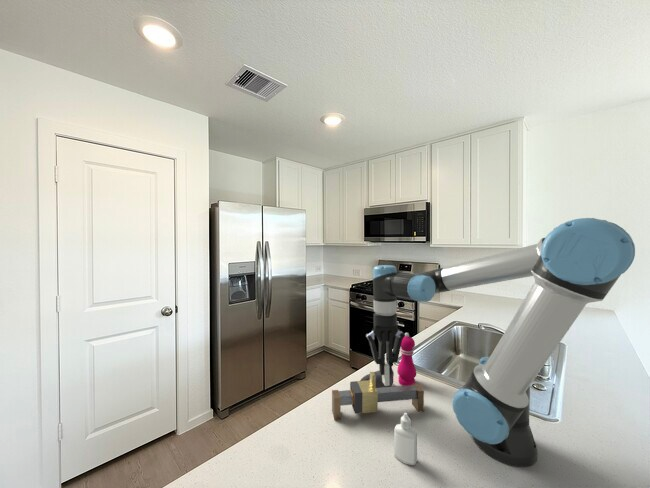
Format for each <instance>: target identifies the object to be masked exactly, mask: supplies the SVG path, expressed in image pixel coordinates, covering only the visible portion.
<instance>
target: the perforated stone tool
mask: <svg viewBox="0 0 650 488" xmlns="http://www.w3.org/2000/svg"><path fill="white" fill-rule="evenodd" d="M373 372H374V374H375V375H376V388H382V387H393V384H394V376H395V375H394V374H395V373H394V370H393V369H392V374H389V379H390V386H385V385H384V383H383V382H382V375H381V373H380V372H379V370H376V371H373ZM366 380H370V373H368V374H366V375H364V376H363V377H361V379H360V380H359V381H366Z"/></svg>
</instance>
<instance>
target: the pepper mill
mask: <svg viewBox="0 0 650 488" xmlns="http://www.w3.org/2000/svg"><path fill="white" fill-rule="evenodd" d="M404 334H405V336H404V338H403V340H402V343H401V348H400V352H399V353H401V360H400V361H399V364H398V366H397V371H396V373H397V374H398V383H399V384H400V386H407V385H412V384H416V379H415V378H416V377H417V369H416V366H415V364H414V360H413V355H414V348H416V347H415V346H416V345H415V344H416V342H415V339H414V338H413V337H411V336H410V334H409V332H405V333H404Z"/></svg>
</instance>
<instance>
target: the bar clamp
mask: <svg viewBox="0 0 650 488" xmlns="http://www.w3.org/2000/svg"><path fill="white" fill-rule="evenodd" d="M376 389H377V391H378V403H385V402H396V401H397V402H398V401H408V400H411V405H412V406H413V407H414V409H415V410H416V412H417V413H422V412H424V410H425V409H424V404H425V400H424V399H425V398H424V397H425V395H424V394H425V391H424V389H423V388H422V387H421V385H419V383H415V384H412V385H407V386H403V385H397V386H392V387H382V388H376ZM342 406H351V407H352V406H354V393H353V391H352V389H350V388H349V390H338V389H332V390H331V412H332V415H333V420H334V421H339V420H341V419H342V418H341V417H342V416H341V409H342V408H341V407H342Z"/></svg>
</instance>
